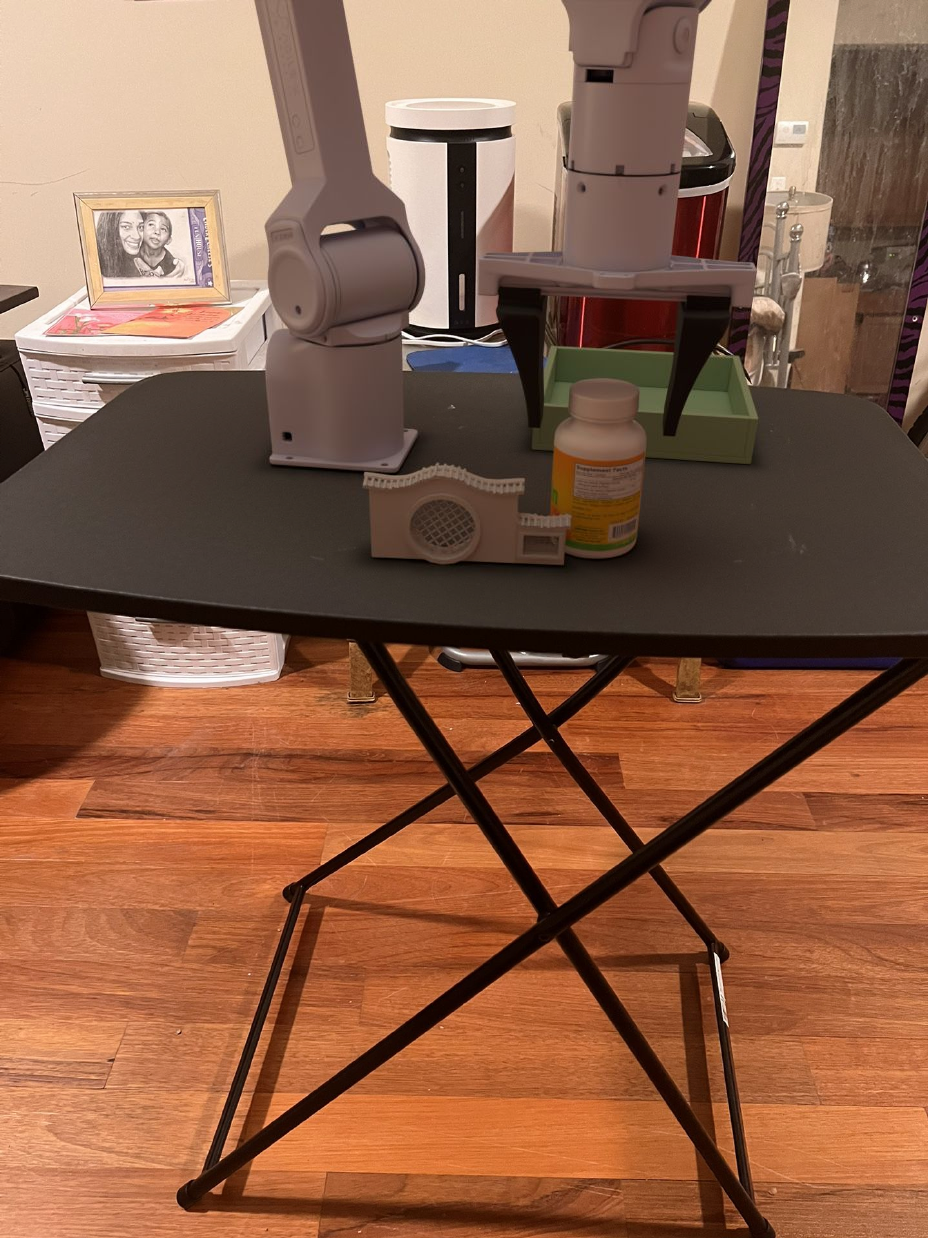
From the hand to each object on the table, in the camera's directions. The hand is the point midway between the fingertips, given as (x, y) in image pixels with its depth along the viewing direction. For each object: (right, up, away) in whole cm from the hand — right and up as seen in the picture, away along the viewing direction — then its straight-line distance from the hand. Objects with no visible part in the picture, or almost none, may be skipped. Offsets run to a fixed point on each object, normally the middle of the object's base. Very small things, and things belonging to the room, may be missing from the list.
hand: (601, 426), depth 56 cm
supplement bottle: (0, -7, +4) cm, 8 cm away
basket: (+6, +5, +23) cm, 24 cm away
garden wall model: (-8, -8, +2) cm, 11 cm away
